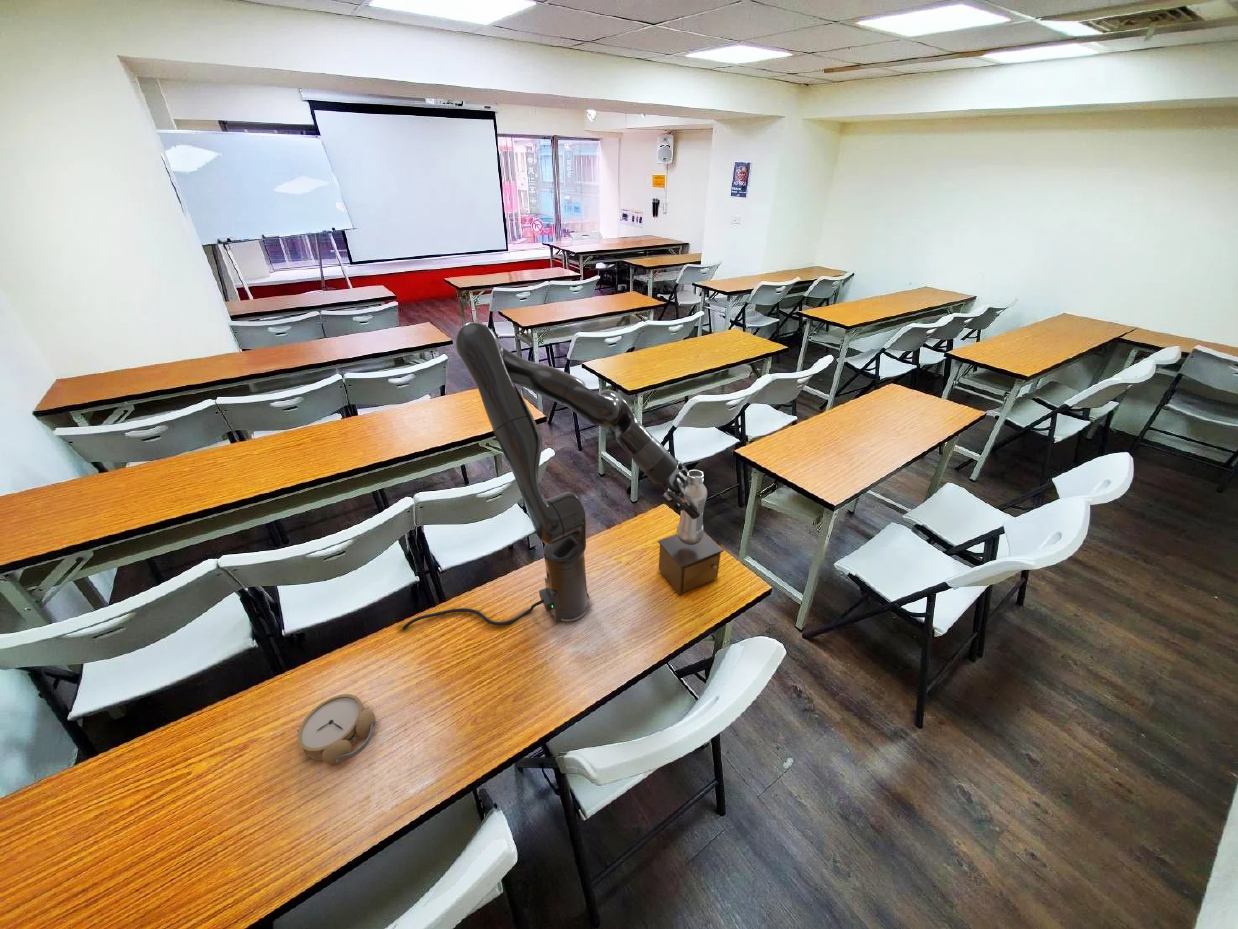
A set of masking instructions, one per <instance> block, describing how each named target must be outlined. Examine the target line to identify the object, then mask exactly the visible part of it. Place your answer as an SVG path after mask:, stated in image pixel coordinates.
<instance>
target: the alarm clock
mask: <svg viewBox="0 0 1238 929" xmlns="http://www.w3.org/2000/svg"><path fill="white" fill-rule="evenodd" d="M376 724H377V720H376V715H375V713H374V712H373V710H371V709H366V708H365V706H364V705H363V703H362V700H360V698H359V697H358V696H357V695H353V694H350V693H348V694H347V693H346V694H345V693H344V694H343V693H342V694H338V695H335V696H331V697H329V698H327V699H326V700H324V701H322V702H320V703H319V704H318V705H316V707H314V708H313V709H312V710H311V711H310V712H309V713H308V714H307V715H306V717H304V719H303V721H302V723H301V724H300V725H299V728H298V729H297V736H296V737H297V744H298V745H299V746H300V747H301V749H302V750H303V751H304V753H305V754H306V755H307V757H308V758H310V759H312V760H315V761H323V762H324V763H325V764H326V765H330V766H332V765H333V766H334V765H338V764H340V763H342V762H344V761H345V760H346V759H350V758H353V757H355V756H357V755H359V754H360V753H361V752H362V751H364V750H365V749H366V747H368V745H369V744H370V743H371V741H372V739H373V736H374V728H375V725H376ZM365 737H366V739H365V741H364V742H363V743H362V744H361V745H360V746H359V747H357V748H356V749H355V750H353V751H352V747H353V745H354V744H355V743H356V742H357V741H358V739H359V738H365ZM308 755H309V756H308Z"/></svg>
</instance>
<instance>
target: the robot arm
mask: <svg viewBox="0 0 1238 929" xmlns="http://www.w3.org/2000/svg"><path fill="white" fill-rule="evenodd" d="M455 349H456V352H457V355H458V357H459V358H460V359H461V361H462V362H463V364H464V365H465V367H466V368H467V370H468V372H469V374H470V375H471V377H472V379H473V381H474V383H475V385H476V388H477V390H478V392H479V396H480V397H481V402H482V404H483V407H484V410H485V412H486V413H485V414H486V417H487V418H488V421H489V423H490V426H491V429H492V431H493V434H494V436H495V438H496V440H497V443H498V445H499V448H500V450H501V451H502V454H503V455H504V458H505V460H506V462H507V464H508V466H509V468H510V471H511V472H512V474H513V478H514V479H515V482H516V484H517V486H518V489H519V492H520V495H521V497H522V500H523V503H524V505H525V508H526V511H527V514H528V517H529V520H530V522H531V526H532V528H533V529H534V531H535V534H536V535H537V537H538V538H539V540H540V541H541V542H542V543H544V547H543V559H544V565H545V566H544V567H545V573H546V577H545V578H544V583H545V588H542V589H540V590H538V594H539V599H540V600H538V601H537V602H535V603H533V604H531V605H530V608H528V609H527V610H526V611H524V612H523V613H521V614H520V615H518V616H516V617H514V618H512V619H510V620H504V621H493V620H491V619H490V618H488V617H487V616H485V615H484V614H483V613H482V612H480V611H479V610H477V609H473V608H460V607H459V608H452V609H447V610H442V611H437V612H434V613H433V612H432V613H428V614H424V615H420V616H418V617H415V618H413V619H411V620H409V621H407V623H405V624H404V625H403V627H402V628H401V630H406V629H407V628H408V627H409V626H411V625H412V624H414V623H416V622H418V621H421V620H425V619H429V618H433V617H438V616H442V615H448V614H452V613H461V612H465V613H473V614H475V615H477V616H479V617H480V618H482V620H484V621H485V622H487V623H488V624H490V625H492V626H507V625H511V624H513V623H515V622H516V621H519V619H521V618H522V617H524V616H527V615H528V614H530V613H531V612H532V611H533V610H534V608H536V607H537V606H539V605H542V604H543V606H544V607H543V608H545V610H546V612H550V613H551V615H552V616H553V618H554V620H555V622H556V623H559V622H565V623H566V622H574V621H578V620H580V619H581V618H583V617H584V616H585V615H586V613H587V612H588V610H589V599H590V595H589V593H588V586H587V573H586V571H587V570H586V556H585V552H586V549H587V517H586V511H585V507H584V505H583V502H582V500H581V499H580V497H579V496H578V495H577V494H576V493H574V492H572V491H564V492H562V493H559V494H557V495H555V496H552V497H549V498H546V499H544V498H543V495H542V492H541V489H540V484H539V470H540V462H541V456H542V449H543V436H542V433H541V431H540V429H539V426H538V424H537V422H536V420H535V418H534V416H533V414H532V411H531V410H530V408H529V406H528V405H527V402H526V401H525V399H524V397H523V396H522V394H521V392H520V390H519V389H518V388H517V386H516V385H518V386H520V387H523V388H525V389H527V390H529V391H532V392H534V393H536V394H538V395H540V396H542V397H545V398H547V399H548V400H551V401H553V402H556V403H558V404H560V405H562V406H564V407H567V408H569V409H570V410H571V411H573V412H574V413H575V414H577V415H578V416H579V417H581V418H582V419H583V420H585V421H586V422H588V423H590V424H592V425H594V426H598V427H602V428H605V427H606V428H607V427H610V428H611V430H612V431H613V432H614V435H615V441H616V442H617V444H618V445H619V446H620V447H621V448H622V449H623V451H624V452H625V453H626V454H627V455H628V456H629V457H630V458H631V460H632V461H633V462H634V464H635V465H636V466H637V467H638V468H639V469H640V470H641V471H642V472H643V473H644V474H645V476H647V478H648V479H649V480H650V481H651V482H652V483H653V484H655V485H658V484H660V486H662V488H663V490H664V493H663V494H662V495H661V498H662V500H664V502H666V503H667V504H668V505H669V506H670V507H671V508H672V509H673V510H674V511H676V512H677V513H681V511H682V510H684V511H685V512H686V513H687V514H688V515H689V516H690V517H691V518H692V519H696V518H698V517H699V516H700V513H699V512H698V511H697V509H696V508H695V507H694V506H693V505H692V504H690V502H689V501H688V499H687V498H686V492H685V490H684V488H683V484H684V483H685V482H687V480H686V478H687V474H688V472H689V471H690V470H688V469H687V467H686V466H685V464H684V463H682V462H680V463H678V461H677V459H676V458H675V457H674V456H673V455H672V454H671V453H670V451H668V450H667V448H666V447H664V445H663V444H662V443H661V442H660V441H659V440H658V439H656V438H655V437H654V436H653V435H652V434H651V432H649V431H648V430H647V428H645V426H644V425H643V424H642V423H641V422H640V421H639V420H638V418H637V416H636V415H635V413H634V411H633V410H632V408H631V407H630V406H629V405H628V403H627V402H626V400H625V399H624V398H623V396H621V395H620V394H619V393H618V392H616V391H614V390H612V389H603V390H601V391H598V393H597V392H595V391H594V390H592V389H590V388H588V387H587V386H586V383H585V381H583V380H582V379H581V378H578V377H576V376H574V375H572V374H570V373H568V372H566V371H564V370H561V369H560V368H556V367H553V366H551V365H547V364H543V363H539V362H534V361H531V360H528V359H525V358H523V357H520V356H518V355H517V354H514V353H513V352H511V351H509V350H508V349H506V348H505V347H503V346H502V345H501V343H500V341H499V339H498V337H497V335H496V334H495V332H494V331H493V330H492V329H491V328H490V327H488V326H487V325H485V324H483V323H481V322H473V321H472V322H468V323H466V324H464V325H463V326H461V327H460V329H459V330H458V332H457V334H456V337H455ZM680 493H681V495H680ZM681 498H682V499H683V500H684V502H683V501H682V500H681Z"/></svg>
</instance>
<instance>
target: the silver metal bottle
mask: <svg viewBox="0 0 1238 929" xmlns="http://www.w3.org/2000/svg"><path fill="white" fill-rule="evenodd" d="M688 471H689V472H688V474H687V476H686V477H687V478H686V480H687V482H685V483H684V484H683V488H684V490H685V492H686V498H687V499H688V501H689V502H690V504H692V505H693V506H694V507H695V508H696V509H697V511H698V512H699V513H700V516H699V517H698V518H696V519H692V518H691V517H690V516H689V515H688V514H687V513H686V512H685V511H684V510H682V511H680V514H679V520H678V524H677V527H676V534H677V536H678V538H679V540H680V541H681V542H683V543H684V544H688V545H694V544H697V543H699V542H700V541H701V540H702V537H703V534H704V532H705V531H704V510H705V505H706V502H707V498H708V489H707V487H706V486H705V484H704V471H701V470H699V469H690V470H688ZM679 495H681V493H680V494H679ZM681 500H682V501H683V502H684V500H683V499H682V498H681Z"/></svg>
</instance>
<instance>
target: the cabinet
mask: <svg viewBox="0 0 1238 929" xmlns="http://www.w3.org/2000/svg"><path fill="white" fill-rule="evenodd" d="M657 543H658V544H659V552H658V553H659V554H658V555H659V558H658V571H660V573H661V575H662V576H663V577H664V578H665V580H666V581H667V582H668V583H669V584H670V587H672V588H673V590H674V591H675V592H676V593H677V594H678V596H681V595H684V594H687V593H688V592H691V591H693V590H695V589H698V588H700V587H702V586H705V585H707V584H709V583H713V582H715V580H716V579H718V575H719V569H720V560H721V554H722V553H723V552H724V549H723V548H722V547H721V546H720V545H719V544H718V543H717V542H715V540H714V539H713V538H712V537H711V536H709V535H708V534H707V533H706V532H705V531H704V534H703V537H702V540H701V541H700V542H699V543H697V544H694V545H688V544H684V543H683V542H681V541H680V540H679V538H678V536H677V533H675V534H673V535H669V536H667V537H665V538H662V539H659V540H657Z"/></svg>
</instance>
